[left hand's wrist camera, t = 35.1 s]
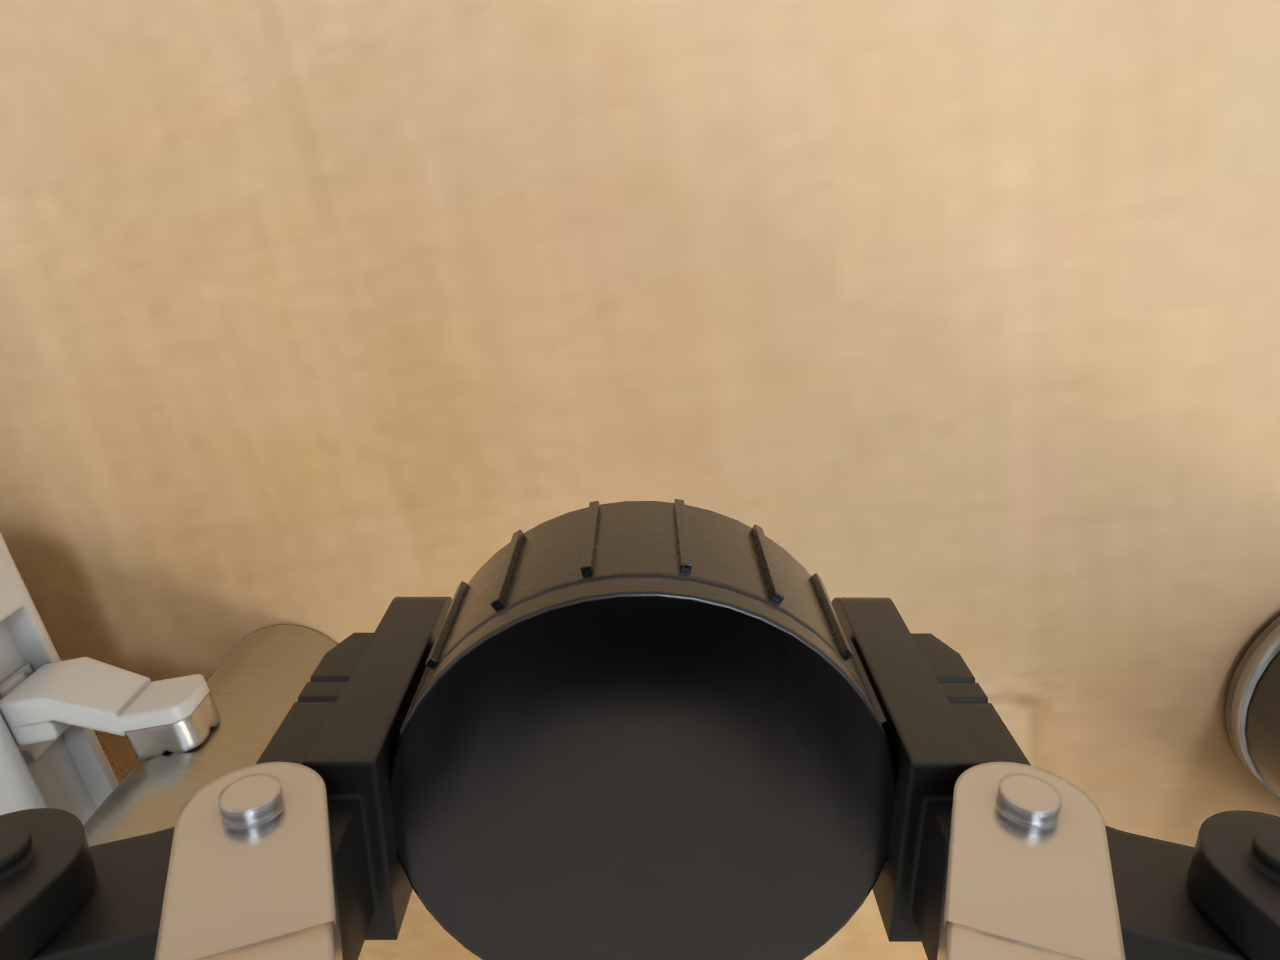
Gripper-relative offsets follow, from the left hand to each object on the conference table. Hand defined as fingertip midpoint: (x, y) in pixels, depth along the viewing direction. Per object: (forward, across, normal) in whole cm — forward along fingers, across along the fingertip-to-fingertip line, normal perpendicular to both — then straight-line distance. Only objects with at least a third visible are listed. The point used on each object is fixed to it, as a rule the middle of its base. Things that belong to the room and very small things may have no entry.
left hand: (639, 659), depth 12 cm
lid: (-3, 0, 0) cm, 3 cm away
